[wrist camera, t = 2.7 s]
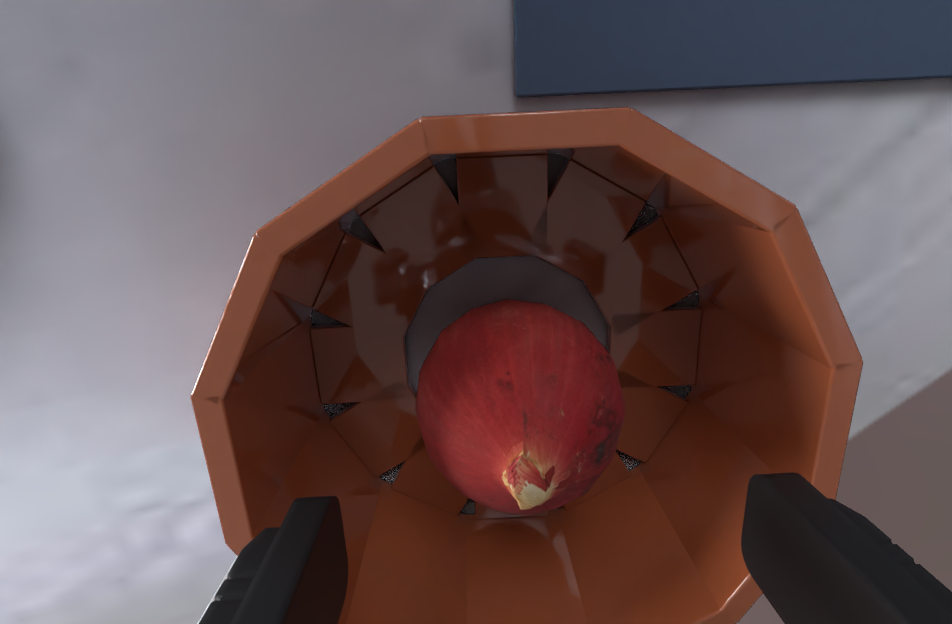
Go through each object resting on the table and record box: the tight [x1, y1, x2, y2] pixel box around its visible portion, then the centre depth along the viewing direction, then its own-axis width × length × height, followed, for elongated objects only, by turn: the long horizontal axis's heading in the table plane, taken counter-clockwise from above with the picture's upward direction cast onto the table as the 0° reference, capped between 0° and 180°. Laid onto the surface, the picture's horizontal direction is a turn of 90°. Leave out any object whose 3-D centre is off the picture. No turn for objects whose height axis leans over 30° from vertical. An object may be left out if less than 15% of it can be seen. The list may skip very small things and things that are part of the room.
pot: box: [191, 107, 863, 624], centre depth 14 cm, size 15×15×6 cm
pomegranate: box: [415, 299, 625, 515], centre depth 14 cm, size 6×6×8 cm
